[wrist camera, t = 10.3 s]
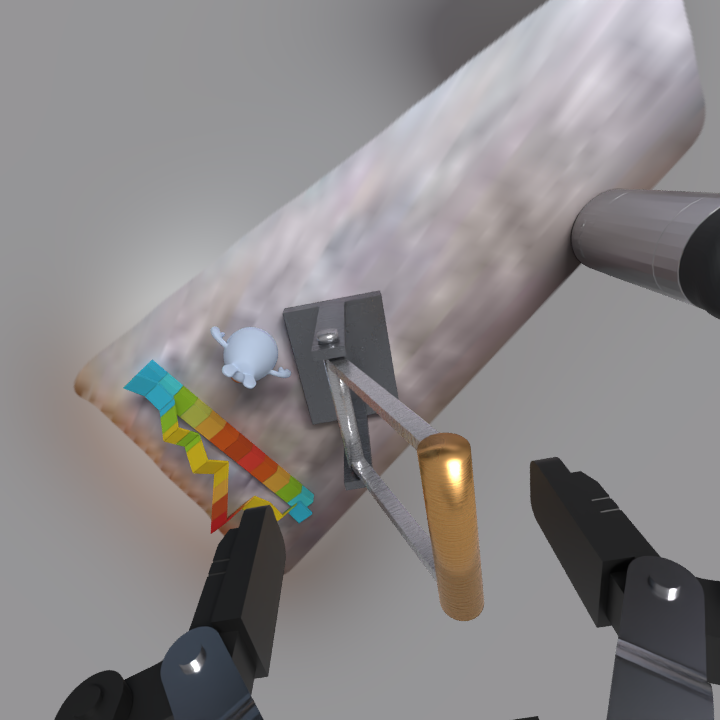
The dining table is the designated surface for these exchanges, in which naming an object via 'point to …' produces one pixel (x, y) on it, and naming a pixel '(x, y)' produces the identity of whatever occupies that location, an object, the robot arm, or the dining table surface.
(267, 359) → the toy figure
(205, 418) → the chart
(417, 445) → the lever
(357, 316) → the lever stand
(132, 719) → the robot arm
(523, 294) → the dining table surface
